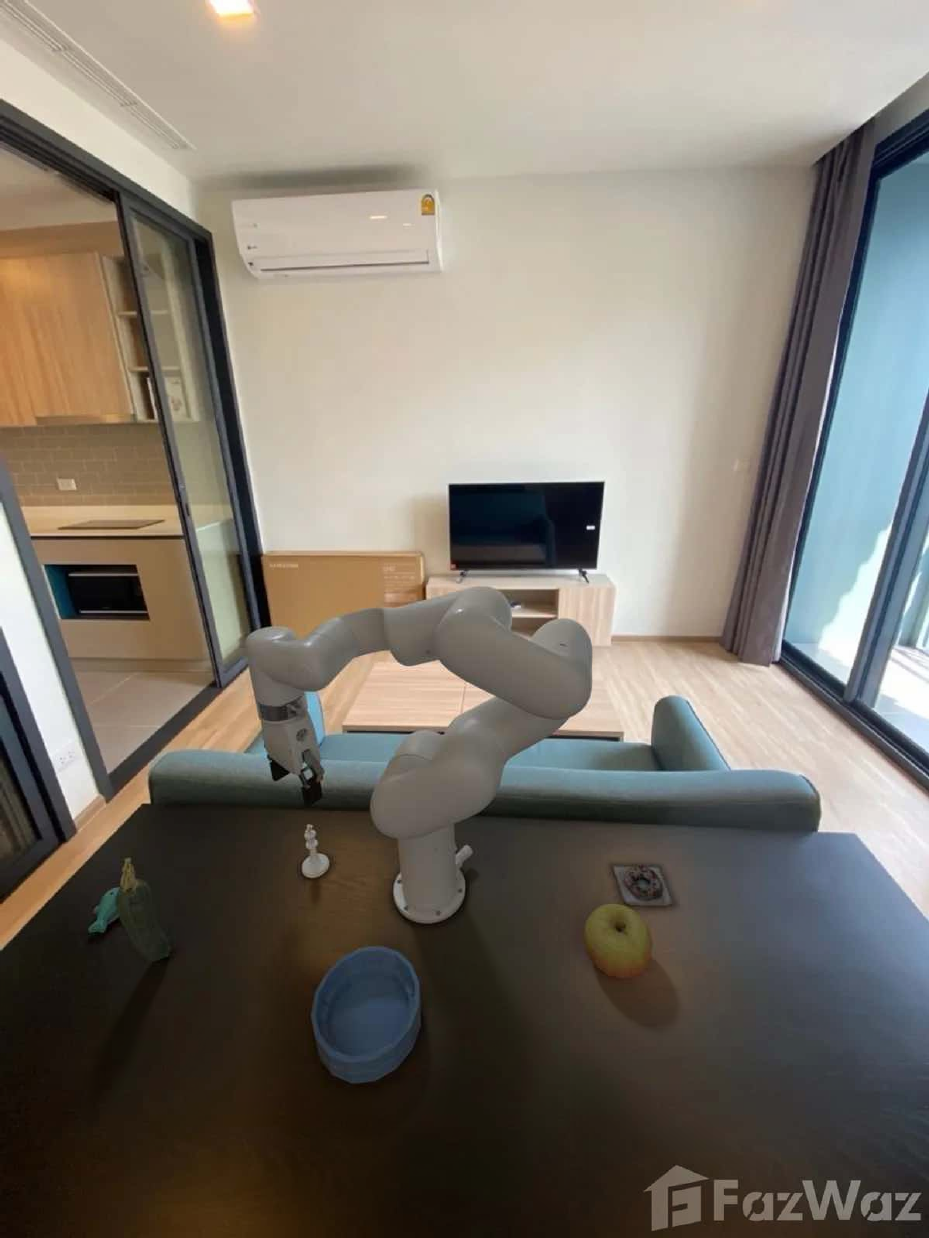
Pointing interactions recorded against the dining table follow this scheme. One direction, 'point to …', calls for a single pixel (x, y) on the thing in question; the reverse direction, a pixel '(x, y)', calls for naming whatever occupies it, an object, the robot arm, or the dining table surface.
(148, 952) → the vegetable
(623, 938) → the apple
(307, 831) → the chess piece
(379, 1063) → the bowl
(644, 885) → the donut
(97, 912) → the whale figurine
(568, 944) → the dining table surface
